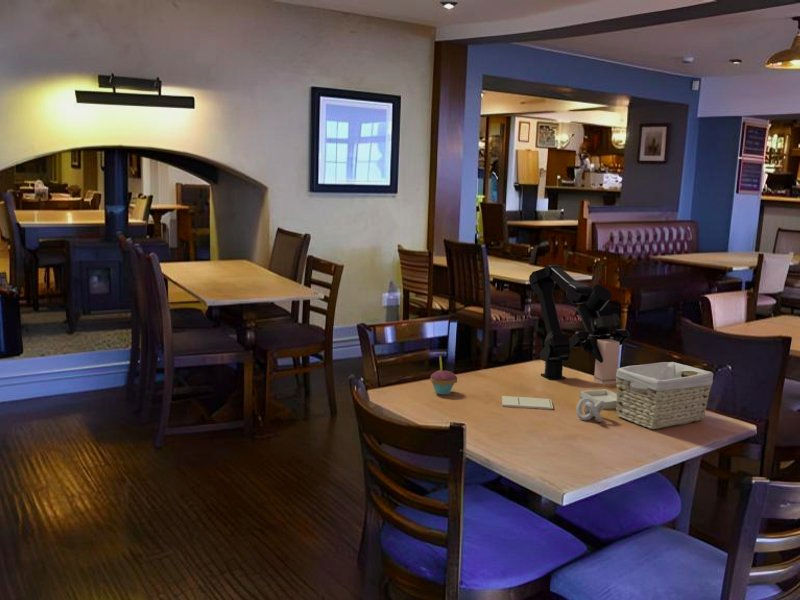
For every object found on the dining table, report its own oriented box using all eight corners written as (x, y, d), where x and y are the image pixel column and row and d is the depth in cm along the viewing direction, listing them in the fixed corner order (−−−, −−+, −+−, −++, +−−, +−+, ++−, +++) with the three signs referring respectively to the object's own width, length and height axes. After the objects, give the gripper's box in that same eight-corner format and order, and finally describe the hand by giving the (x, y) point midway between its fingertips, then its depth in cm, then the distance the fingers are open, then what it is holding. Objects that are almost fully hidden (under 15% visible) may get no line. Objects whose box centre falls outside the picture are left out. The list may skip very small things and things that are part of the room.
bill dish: (579, 397, 224) (579, 391, 223) (606, 395, 227) (606, 389, 227) (601, 409, 212) (602, 402, 212) (629, 406, 216) (630, 400, 215)
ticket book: (502, 397, 221) (502, 395, 221) (550, 400, 220) (550, 398, 219) (502, 406, 213) (502, 404, 212) (553, 409, 211) (553, 407, 211)
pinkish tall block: (593, 380, 220) (596, 339, 218) (607, 379, 222) (610, 338, 220) (602, 384, 216) (605, 342, 214) (616, 383, 217) (620, 342, 215)
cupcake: (424, 391, 226) (425, 355, 224) (442, 387, 231) (444, 351, 230) (443, 398, 219) (444, 360, 218) (462, 393, 225) (463, 356, 223)
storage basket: (666, 406, 218) (670, 359, 215) (712, 421, 204) (717, 372, 201) (609, 416, 206) (613, 367, 204) (654, 433, 192) (658, 381, 190)
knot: (610, 424, 199) (611, 404, 198) (582, 424, 198) (584, 404, 197) (600, 416, 206) (601, 396, 205) (573, 416, 205) (575, 396, 204)
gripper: (577, 305, 216) (595, 349, 207) (628, 304, 222) (648, 346, 213) (561, 325, 224) (578, 368, 216) (611, 323, 230) (630, 365, 222)
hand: (609, 361), depth 216 cm, fingers closed on pinkish tall block, 5 cm apart
